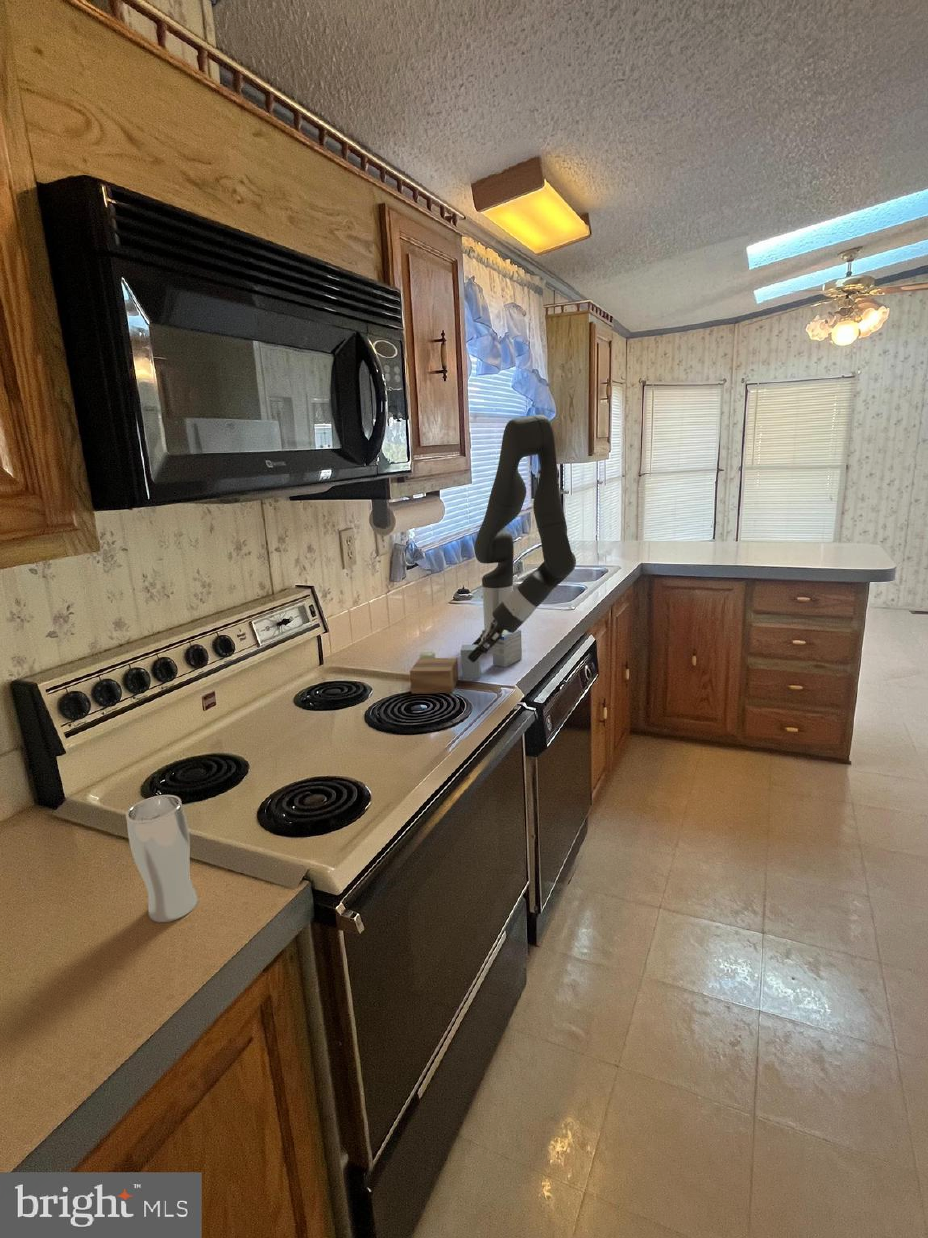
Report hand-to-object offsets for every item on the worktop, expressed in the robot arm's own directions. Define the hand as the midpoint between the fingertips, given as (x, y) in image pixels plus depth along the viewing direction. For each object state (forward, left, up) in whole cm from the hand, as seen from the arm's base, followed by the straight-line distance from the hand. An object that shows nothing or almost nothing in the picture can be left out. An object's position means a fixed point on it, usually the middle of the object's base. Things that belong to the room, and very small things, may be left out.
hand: (471, 654), depth 167 cm
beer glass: (+88, -33, -6) cm, 94 cm away
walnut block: (+6, -9, -6) cm, 13 cm away
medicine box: (-11, +9, -6) cm, 15 cm away
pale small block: (-5, -12, -6) cm, 15 cm away
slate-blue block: (0, 0, -6) cm, 6 cm away
